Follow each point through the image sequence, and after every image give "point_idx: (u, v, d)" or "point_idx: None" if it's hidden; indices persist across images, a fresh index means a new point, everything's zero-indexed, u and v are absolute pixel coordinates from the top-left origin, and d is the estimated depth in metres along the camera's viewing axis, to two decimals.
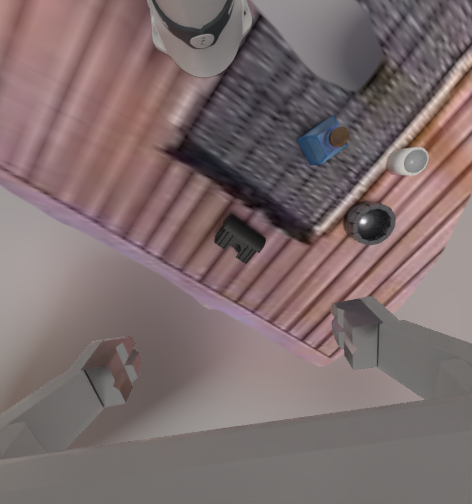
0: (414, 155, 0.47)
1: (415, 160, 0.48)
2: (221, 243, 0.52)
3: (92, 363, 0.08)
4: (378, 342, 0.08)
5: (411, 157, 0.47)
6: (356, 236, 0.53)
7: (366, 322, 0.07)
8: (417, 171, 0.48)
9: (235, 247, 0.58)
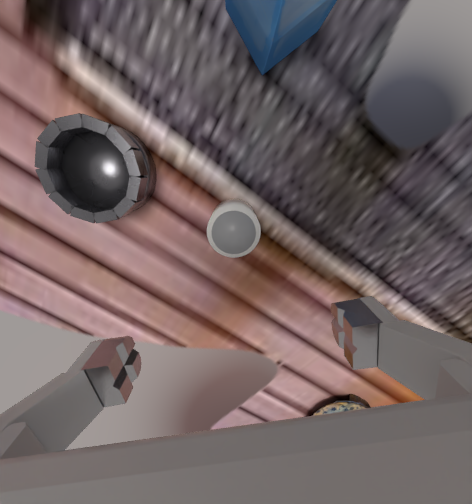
0: (245, 227, 0.23)
1: (235, 230, 0.23)
2: None
3: (92, 363, 0.08)
4: (378, 342, 0.08)
5: (241, 221, 0.23)
6: (49, 129, 0.20)
7: (366, 322, 0.07)
8: (214, 241, 0.24)
9: None
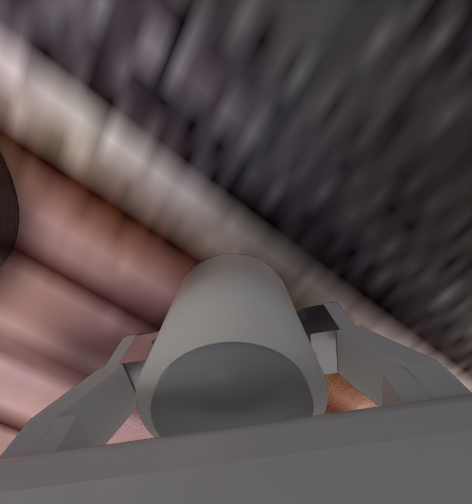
0: (274, 398, 0.06)
1: (239, 408, 0.06)
2: None
3: (130, 357, 0.08)
4: (337, 348, 0.08)
5: (262, 382, 0.06)
6: None
7: (324, 329, 0.07)
8: (165, 434, 0.07)
9: None
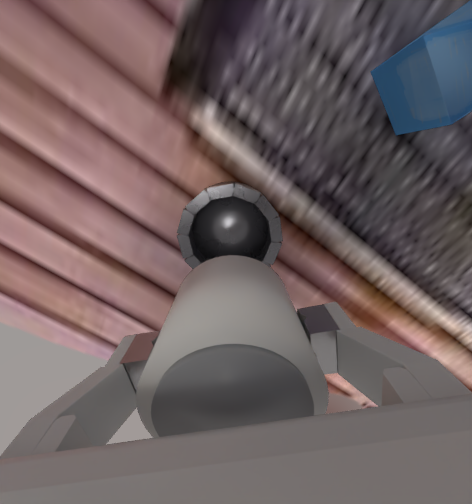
0: (275, 400, 0.06)
1: (240, 410, 0.06)
2: None
3: (130, 357, 0.08)
4: (337, 349, 0.08)
5: (262, 384, 0.06)
6: (198, 198, 0.20)
7: (324, 329, 0.07)
8: None
9: None
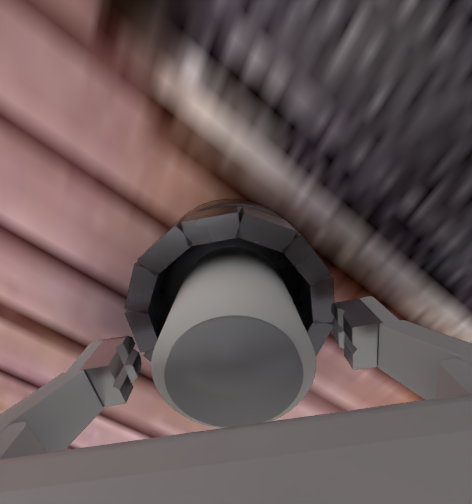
0: (270, 364, 0.07)
1: (240, 373, 0.07)
2: None
3: (92, 363, 0.08)
4: (379, 342, 0.08)
5: (259, 350, 0.07)
6: (165, 242, 0.09)
7: (366, 322, 0.07)
8: (176, 398, 0.08)
9: None
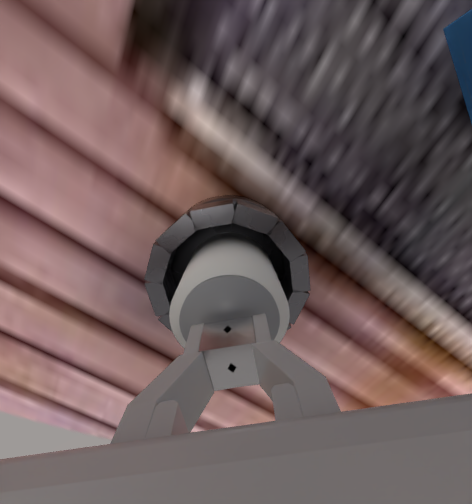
0: (255, 311, 0.10)
1: (234, 318, 0.10)
2: None
3: (207, 344, 0.08)
4: (255, 361, 0.08)
5: (247, 299, 0.10)
6: (177, 227, 0.12)
7: (242, 342, 0.08)
8: (187, 338, 0.11)
9: None
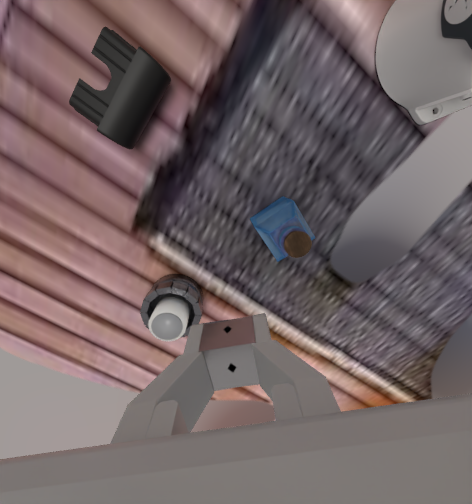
0: (174, 323, 0.34)
1: (168, 325, 0.34)
2: (105, 42, 0.25)
3: (207, 344, 0.08)
4: (255, 361, 0.08)
5: (171, 320, 0.33)
6: (151, 294, 0.36)
7: (242, 342, 0.08)
8: (154, 332, 0.34)
9: None
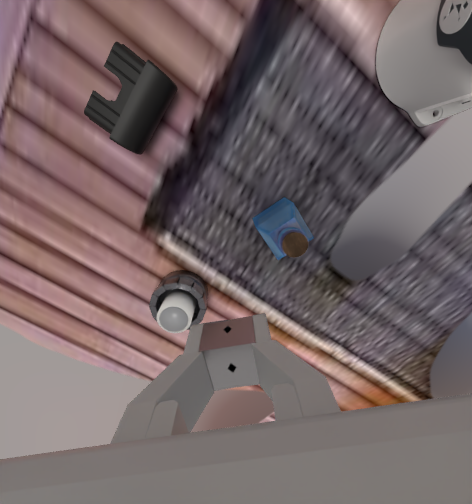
0: (180, 316, 0.36)
1: (174, 318, 0.36)
2: (116, 57, 0.27)
3: (207, 345, 0.08)
4: (255, 361, 0.08)
5: (178, 313, 0.36)
6: (159, 289, 0.38)
7: (242, 342, 0.08)
8: (161, 324, 0.37)
9: None
